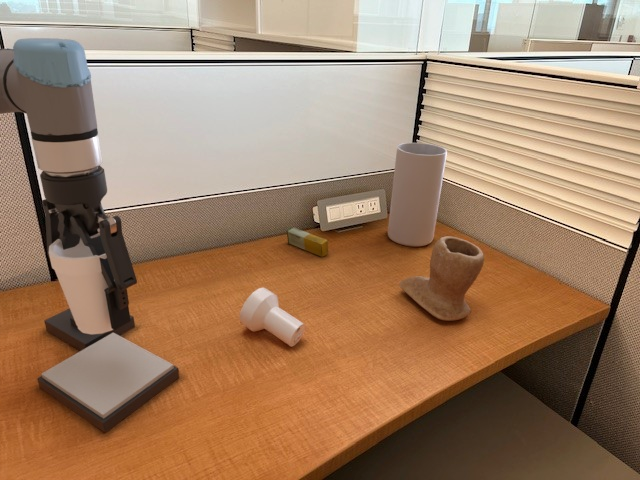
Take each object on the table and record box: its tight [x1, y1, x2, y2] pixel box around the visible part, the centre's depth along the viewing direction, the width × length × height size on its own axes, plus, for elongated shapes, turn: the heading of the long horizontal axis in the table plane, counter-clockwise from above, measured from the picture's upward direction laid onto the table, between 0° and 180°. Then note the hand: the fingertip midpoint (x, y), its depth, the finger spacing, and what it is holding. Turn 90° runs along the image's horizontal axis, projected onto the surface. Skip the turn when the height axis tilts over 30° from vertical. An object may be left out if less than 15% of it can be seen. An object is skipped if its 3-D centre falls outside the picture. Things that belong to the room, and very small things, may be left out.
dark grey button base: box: [44, 307, 136, 352], centre depth 88 cm, size 12×10×4 cm
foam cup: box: [48, 233, 113, 334], centre depth 69 cm, size 10×9×13 cm
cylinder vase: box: [387, 142, 448, 248], centre depth 127 cm, size 12×12×25 cm
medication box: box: [286, 226, 329, 258], centre depth 122 cm, size 12×3×4 cm, turn 50°
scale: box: [36, 333, 180, 434], centre depth 76 cm, size 16×14×3 cm
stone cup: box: [398, 235, 485, 322], centre depth 99 cm, size 15×12×15 cm
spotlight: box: [238, 286, 307, 348], centre depth 89 cm, size 8×11×8 cm
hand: (99, 313), depth 72 cm, fingers closed on foam cup, 9 cm apart
